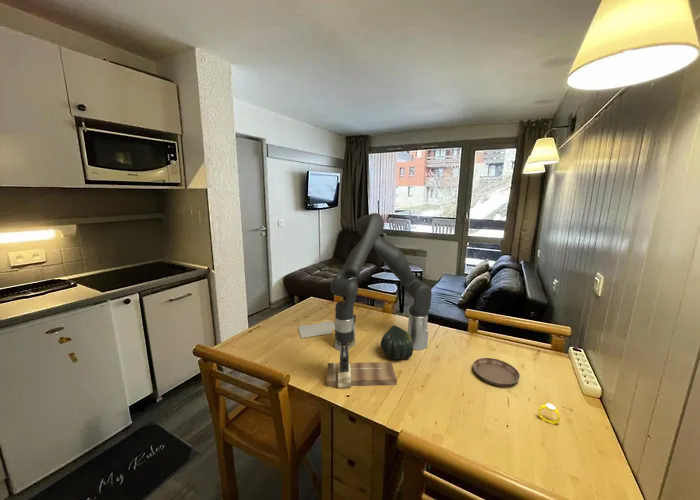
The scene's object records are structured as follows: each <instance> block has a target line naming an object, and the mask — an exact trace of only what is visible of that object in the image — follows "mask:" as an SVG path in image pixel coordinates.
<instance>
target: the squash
mask: <svg viewBox="0 0 700 500" xmlns="http://www.w3.org/2000/svg"><path fill="white" fill-rule="evenodd" d="M380 347H381V351H382V352H383V354H384V356H385V355H386V357H387V358H388V359H389V360H396V361H397V360H400V359H404V360H406V359H410V358H411V357H412V355H413V354H414V349H413V340H412V338H411V336H410V335H409V334H408V331H406V330H404V329H403V328H401V327H399V326H397V325H392V326H391V327H390V328H389V329H388V330H387V331H386V332H385V333H383V336H382V337H381V340H380Z"/></svg>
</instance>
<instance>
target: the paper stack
mask: <svg viewBox="0 0 700 500" xmlns="http://www.w3.org/2000/svg"><path fill="white" fill-rule="evenodd" d="M297 328H298V330H299V331H298V332H299V335H300V337H301V339H302V338H304V339H305V338H309V337H311V338H312V337H317V336H323V335H330V334H333V332H332V331H333V330H334V331H335V322H334V321H333V320H332V321H331V322H330V320H329V321H327V322H324V321H323V323H322V322H321V323H318V324H313V323H310V324H305V325H303V324H302V325H298V326H297Z"/></svg>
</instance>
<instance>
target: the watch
mask: <svg viewBox="0 0 700 500" xmlns="http://www.w3.org/2000/svg"><path fill="white" fill-rule="evenodd" d="M542 409H547V410H549V411H552V412H555V413H556V415H557V419H554V420H552V419H549V418H545V417H544V416H543V415H542V414H541V410H542ZM537 412H538V413H537V414H538V416H539V418H540V419H541V420H542V421H543V422H547V423H549V424H551V425H554V424H558V423H559V422H560V420H561V414H560V411H559V410H558V409H557V408H556V406H555V405H553V404H552V403H545V404H541V405H540V406H539V407H538V411H537Z"/></svg>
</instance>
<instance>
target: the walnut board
mask: <svg viewBox="0 0 700 500" xmlns="http://www.w3.org/2000/svg"><path fill="white" fill-rule="evenodd" d="M349 363H350V371H351V387H365V386H366V387H368V386H370V387H371V386H397V385H398V384H397V383H398V378H397V375H396V372H395V368H394V365H393V362H391V361H385V362H383V361H379V362H378V361H376V362H375V361H374V362H371V361H369V362H349ZM338 364H340V362H328V363H327V369H326V370H327V371H326V387H338Z"/></svg>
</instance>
